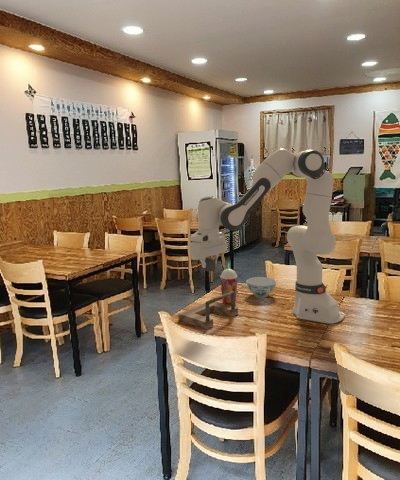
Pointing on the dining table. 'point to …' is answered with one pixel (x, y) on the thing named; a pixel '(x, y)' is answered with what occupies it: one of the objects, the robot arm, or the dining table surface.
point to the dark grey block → (210, 264)
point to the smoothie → (228, 284)
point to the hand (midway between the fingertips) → (209, 265)
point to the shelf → (201, 311)
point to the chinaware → (261, 286)
